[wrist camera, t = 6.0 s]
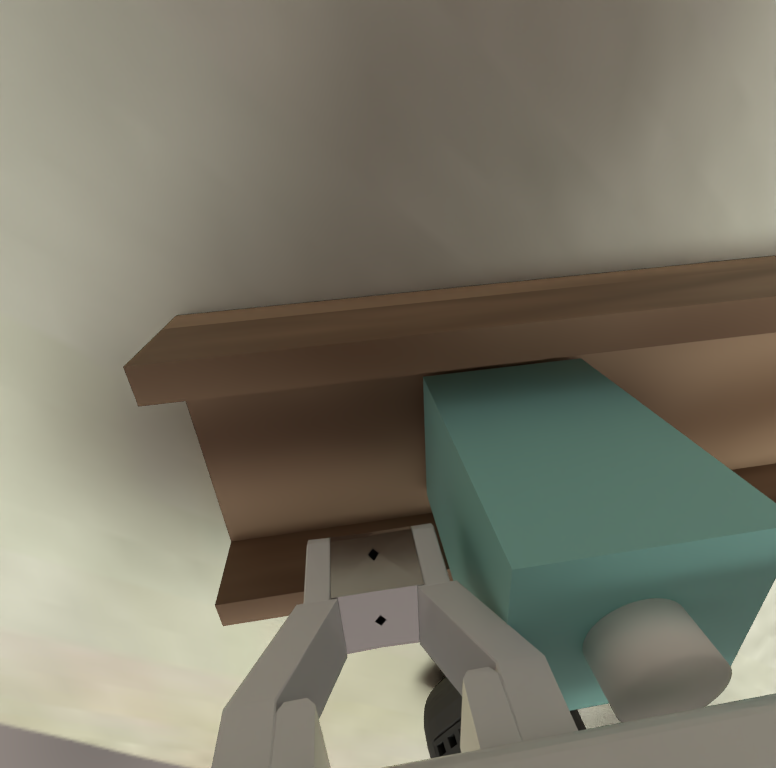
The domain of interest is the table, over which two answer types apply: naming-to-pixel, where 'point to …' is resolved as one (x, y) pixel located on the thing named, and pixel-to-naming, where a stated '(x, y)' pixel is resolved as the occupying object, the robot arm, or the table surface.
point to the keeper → (597, 533)
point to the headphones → (452, 720)
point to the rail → (406, 398)
